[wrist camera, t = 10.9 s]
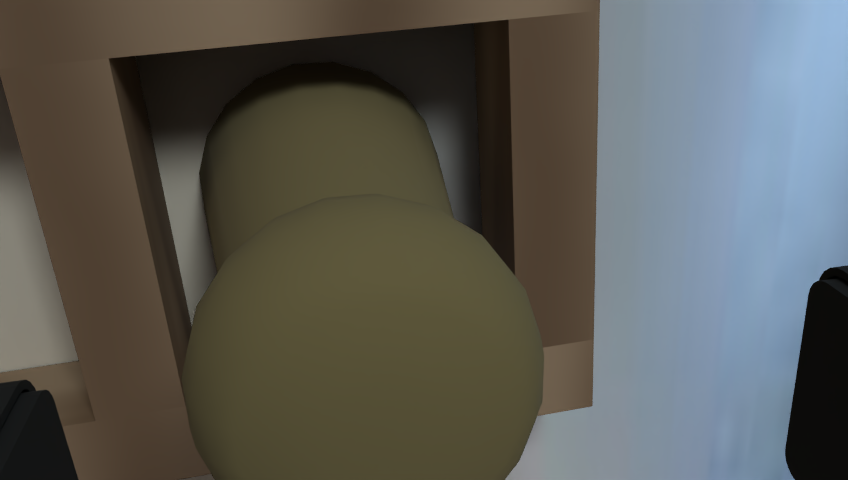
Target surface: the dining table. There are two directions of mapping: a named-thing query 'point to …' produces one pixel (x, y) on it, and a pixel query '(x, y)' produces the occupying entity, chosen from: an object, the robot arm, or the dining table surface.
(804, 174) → the dining table surface
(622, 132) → the dining table surface
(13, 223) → the dining table surface
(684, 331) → the dining table surface
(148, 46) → the caddy
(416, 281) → the olive tall rounded piece
